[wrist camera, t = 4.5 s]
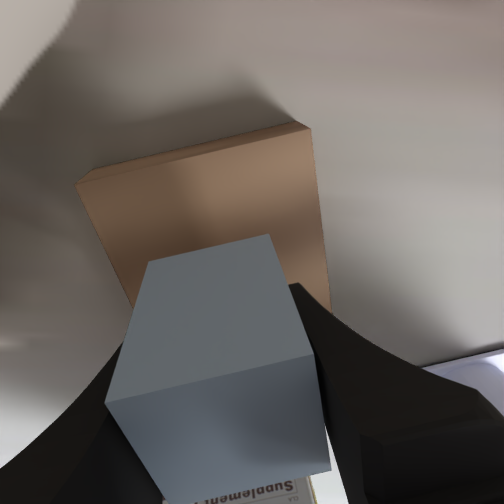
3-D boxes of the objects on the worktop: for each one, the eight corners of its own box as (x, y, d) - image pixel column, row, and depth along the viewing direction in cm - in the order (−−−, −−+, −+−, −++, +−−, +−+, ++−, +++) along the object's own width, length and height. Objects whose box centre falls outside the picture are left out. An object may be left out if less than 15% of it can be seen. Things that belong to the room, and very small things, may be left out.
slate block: (286, 325, 15) (331, 470, 9) (184, 349, 15) (171, 508, 9) (268, 233, 12) (314, 353, 7) (148, 261, 12) (104, 403, 7)
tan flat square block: (317, 284, 21) (332, 314, 19) (162, 321, 21) (156, 356, 19) (294, 119, 17) (310, 128, 14) (95, 167, 17) (74, 184, 14)
